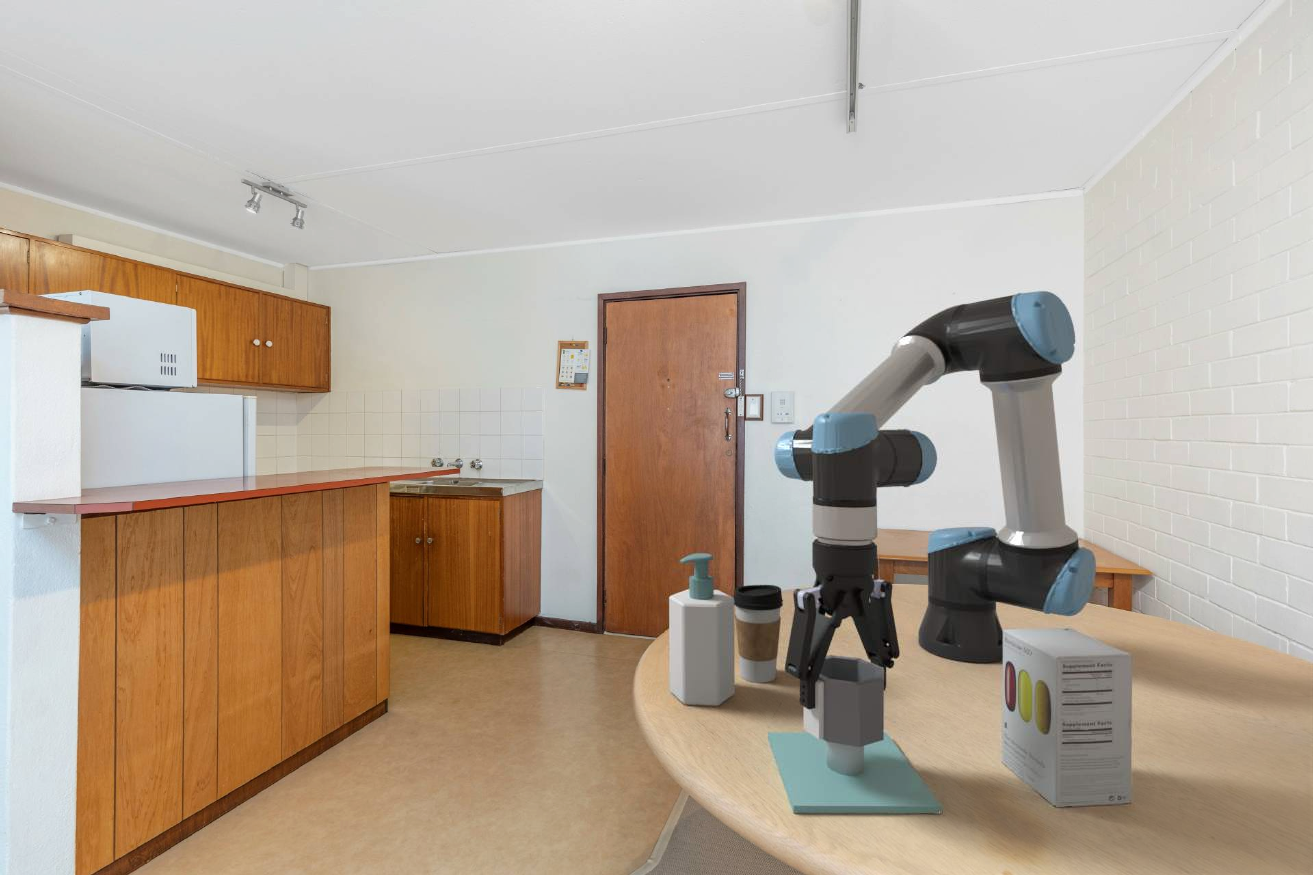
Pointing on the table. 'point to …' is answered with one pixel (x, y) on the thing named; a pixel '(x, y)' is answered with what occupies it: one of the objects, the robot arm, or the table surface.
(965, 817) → the table surface
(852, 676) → the hollow octagonal tube
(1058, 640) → the supplement box
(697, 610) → the soap bottle
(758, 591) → the coffee cup
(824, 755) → the teal base with peg
